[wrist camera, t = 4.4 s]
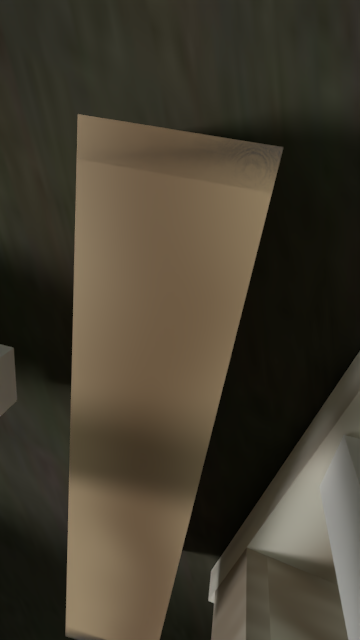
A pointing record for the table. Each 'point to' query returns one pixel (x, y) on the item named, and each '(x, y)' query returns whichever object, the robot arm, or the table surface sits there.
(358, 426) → the wooden beam cradle
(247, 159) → the rail
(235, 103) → the table surface
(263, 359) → the table surface
